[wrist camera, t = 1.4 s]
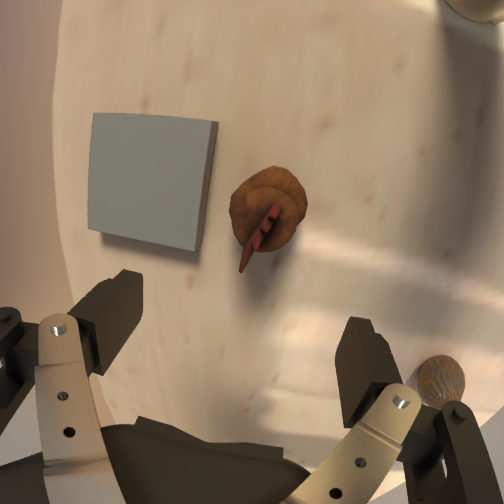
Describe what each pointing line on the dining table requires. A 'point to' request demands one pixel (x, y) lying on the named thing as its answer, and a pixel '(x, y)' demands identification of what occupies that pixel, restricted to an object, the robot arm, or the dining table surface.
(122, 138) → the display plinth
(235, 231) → the wooden figurine
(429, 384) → the vase
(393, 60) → the dining table surface
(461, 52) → the dining table surface
